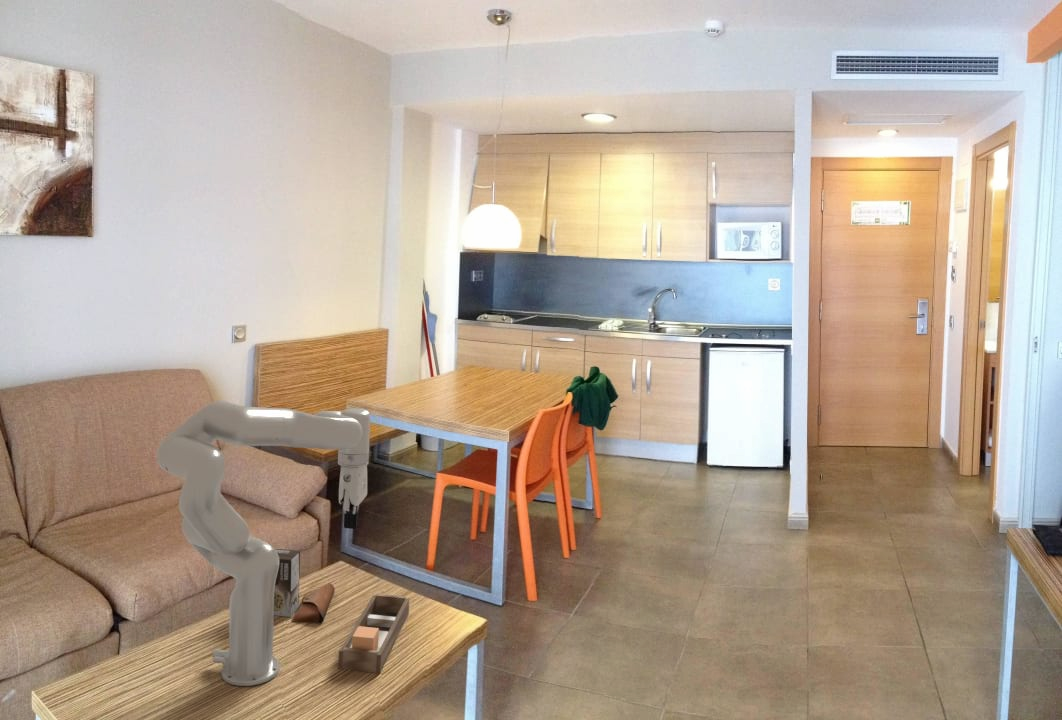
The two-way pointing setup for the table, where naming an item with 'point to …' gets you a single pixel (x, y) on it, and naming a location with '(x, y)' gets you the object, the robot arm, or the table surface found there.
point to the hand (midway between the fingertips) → (350, 527)
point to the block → (365, 638)
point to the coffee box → (287, 583)
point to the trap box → (389, 620)
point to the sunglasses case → (315, 605)
